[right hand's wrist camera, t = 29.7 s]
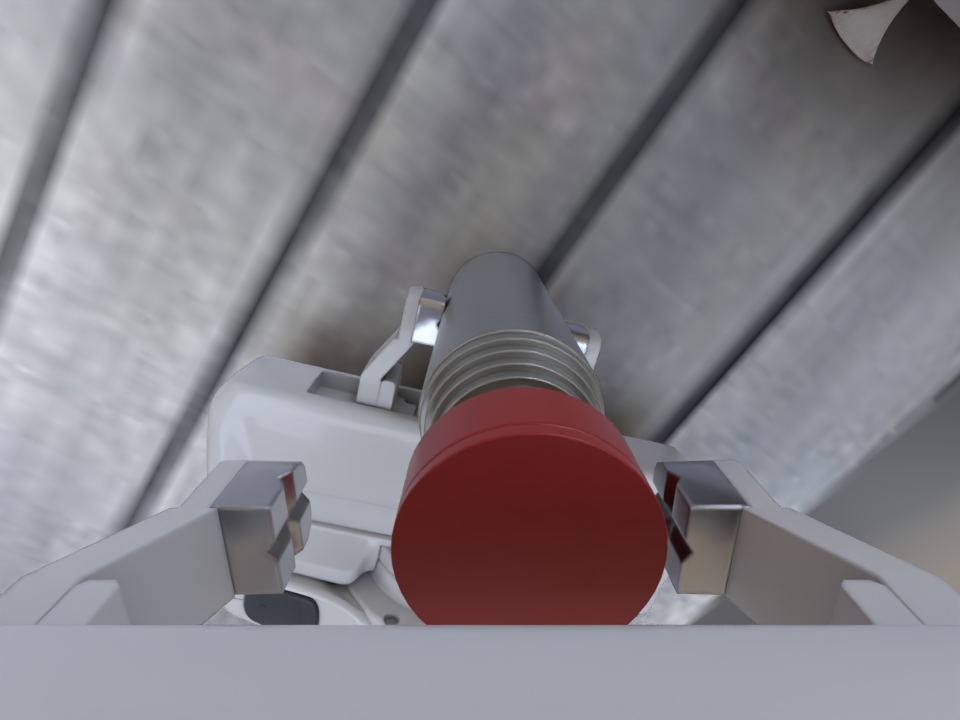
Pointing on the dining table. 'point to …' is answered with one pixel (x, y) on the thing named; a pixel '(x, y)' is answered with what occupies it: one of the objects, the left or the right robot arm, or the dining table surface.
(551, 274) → the dining table surface
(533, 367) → the bottle
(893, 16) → the plush toy
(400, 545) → the cap
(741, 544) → the right robot arm
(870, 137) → the dining table surface
